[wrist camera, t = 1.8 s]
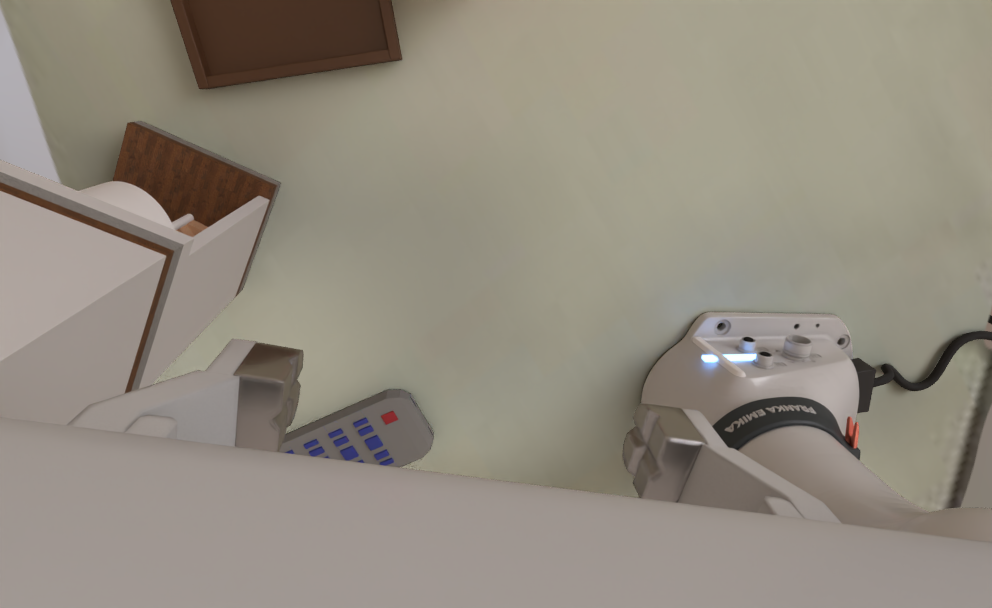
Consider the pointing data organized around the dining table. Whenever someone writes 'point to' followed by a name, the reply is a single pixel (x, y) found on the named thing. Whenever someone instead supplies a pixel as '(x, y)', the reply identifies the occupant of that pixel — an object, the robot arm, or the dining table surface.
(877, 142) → the dining table surface
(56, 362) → the two-tier shelf stand
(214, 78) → the serving tray
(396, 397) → the remote control
